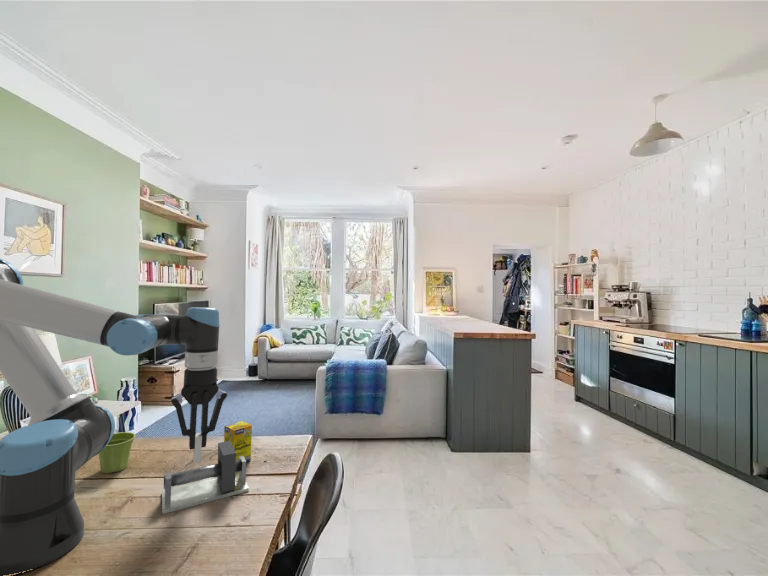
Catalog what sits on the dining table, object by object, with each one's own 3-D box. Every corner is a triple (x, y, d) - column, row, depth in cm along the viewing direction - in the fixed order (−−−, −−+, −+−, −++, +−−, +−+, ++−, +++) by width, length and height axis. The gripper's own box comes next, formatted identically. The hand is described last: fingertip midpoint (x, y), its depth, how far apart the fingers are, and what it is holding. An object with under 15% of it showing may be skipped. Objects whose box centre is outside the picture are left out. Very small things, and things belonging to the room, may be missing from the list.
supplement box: (233, 467, 103) (234, 430, 103) (222, 461, 107) (223, 425, 107) (251, 460, 108) (252, 424, 108) (240, 455, 111) (241, 420, 112)
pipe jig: (162, 514, 81) (163, 484, 81) (162, 493, 89) (162, 466, 89) (248, 491, 91) (249, 464, 91) (241, 474, 99) (241, 450, 100)
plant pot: (142, 462, 106) (143, 433, 106) (115, 478, 96) (116, 446, 97) (113, 460, 107) (114, 431, 107) (84, 475, 97) (85, 444, 98)
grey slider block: (222, 492, 88) (223, 455, 88) (217, 476, 96) (218, 442, 96) (234, 489, 90) (235, 453, 90) (229, 474, 97) (230, 440, 98)
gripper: (172, 372, 83) (167, 473, 83) (231, 368, 90) (227, 460, 90) (171, 367, 90) (166, 460, 89) (226, 363, 97) (222, 449, 96)
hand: (197, 460), depth 89 cm, fingers closed
